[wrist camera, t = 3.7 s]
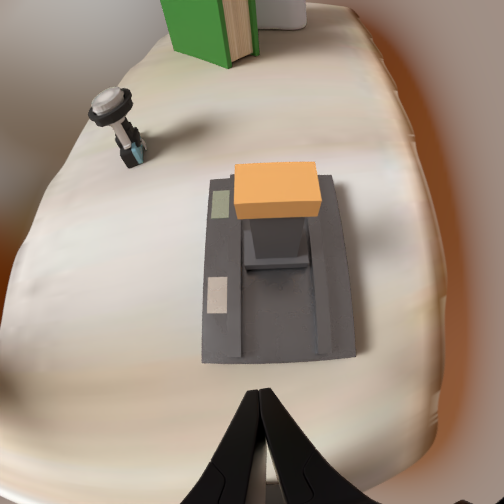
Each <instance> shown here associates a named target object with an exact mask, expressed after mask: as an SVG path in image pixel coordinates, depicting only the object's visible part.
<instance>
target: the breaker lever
mask: <svg viewBox="0 0 504 504" xmlns="http://www.w3.org/2000/svg"><path fill="white" fill-rule="evenodd" d="M321 202H322V199H321V193H320V187H319V182H318V176H317V171H316V165H315V162H275V163H252V164H236V165H235V182H234V206H235V211H236V215H237V219H249V220H250V226H251V230H249V231H244V266H245V270H250V269H277V268H301V267H308V264H309V259H308V248H307V238H306V229H305V228H303V226H304V221H305V217H316V216H318V213H319V209H320V206H321Z"/></svg>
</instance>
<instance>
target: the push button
mask: <svg viewBox="0 0 504 504" xmlns="http://www.w3.org/2000/svg"><path fill="white" fill-rule="evenodd" d="M131 97H132V94H131V92H130V90H129V89H125V88H122V89H120V88H119V87H112V88H109V89H106V90H104V91H103V92H101V93H100V94H98V95H97V96H96V97H95V98H94V100H93V101H92V107H91V108H90V110H89V113H88V116H89V118H90V120H92V121H95V123H96V125H97V126H100V127H104V126H111V127H112V128H113V130H114V132H115V136H116V138H115V141H116V143H117V145H118V146H119V148H120V156H121V158H122V160H123V161H124V163H125V164H126V166H127V167H128V168H130V167H133V166H135V165H138V164H140V163H143V148H142V144H143V146H144V148H145V150H146V151H147V146H146V144H145V142H144V140H143V138H142V139H141V137H140V133H139V131H138V129H137V127H133V126H132V124H131V122H128V120H127V118H126V117H125V116H126V115H127V113H128V112H129V111H130V110H131V108H132V106H133V102H132V100H131Z"/></svg>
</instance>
